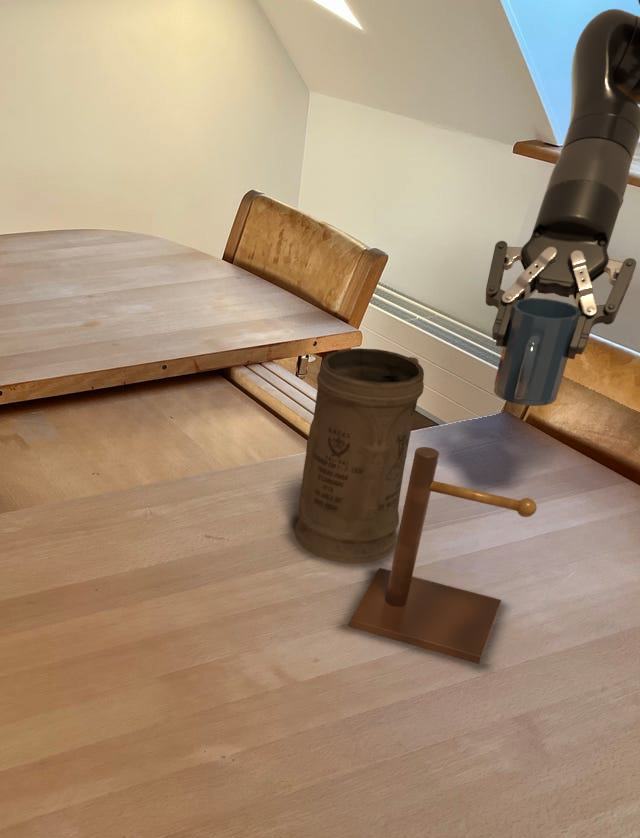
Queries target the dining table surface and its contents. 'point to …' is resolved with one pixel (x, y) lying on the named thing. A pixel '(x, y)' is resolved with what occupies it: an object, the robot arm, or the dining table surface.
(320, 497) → the beer stein
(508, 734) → the dining table surface
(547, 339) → the mug
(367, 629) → the mug stand
